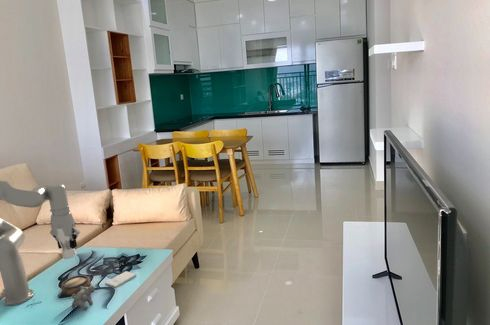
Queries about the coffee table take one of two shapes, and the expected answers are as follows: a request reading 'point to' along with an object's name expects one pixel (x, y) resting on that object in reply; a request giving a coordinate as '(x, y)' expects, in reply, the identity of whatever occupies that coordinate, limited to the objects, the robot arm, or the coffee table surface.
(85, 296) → the elephant statuette
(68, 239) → the silver metal cup
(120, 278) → the external hard drive
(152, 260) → the coffee table surface
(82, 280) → the brown round bowl
